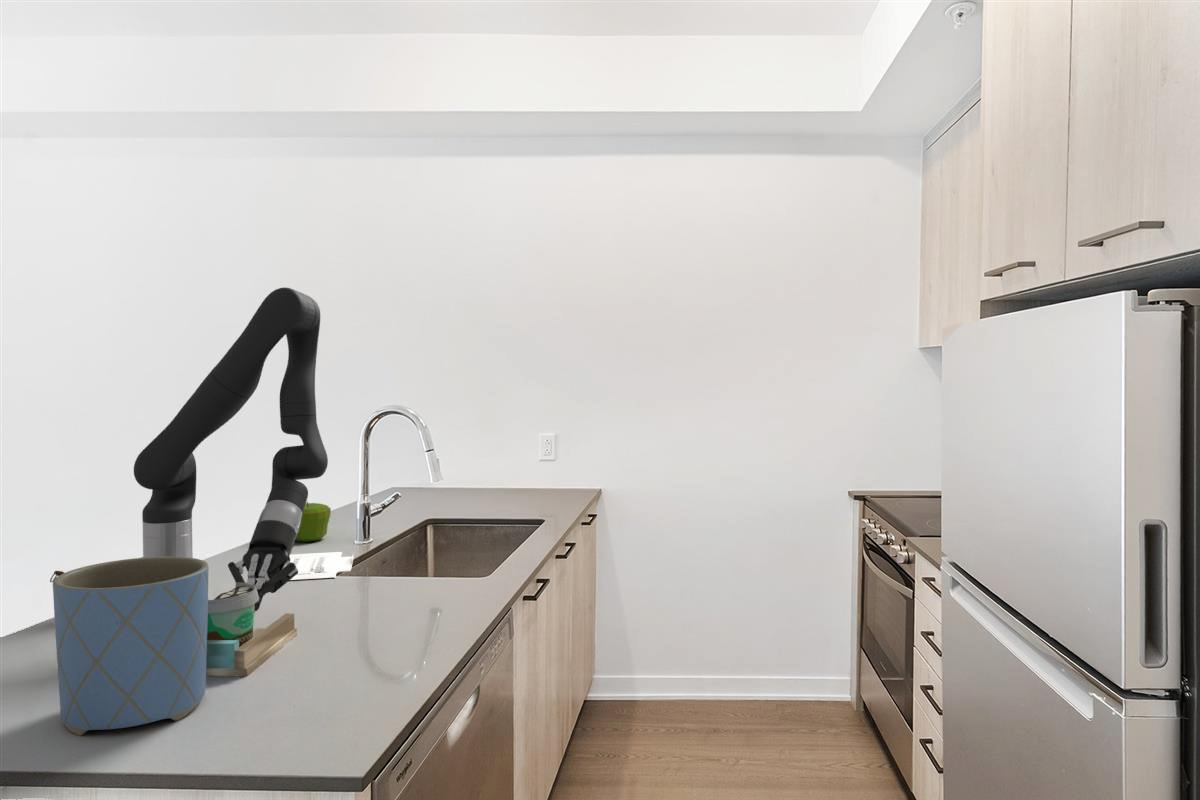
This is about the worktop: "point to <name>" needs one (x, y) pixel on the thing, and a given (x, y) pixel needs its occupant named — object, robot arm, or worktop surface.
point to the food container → (232, 614)
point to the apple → (313, 522)
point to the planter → (131, 641)
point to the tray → (320, 565)
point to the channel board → (248, 649)
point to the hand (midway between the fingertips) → (248, 611)
